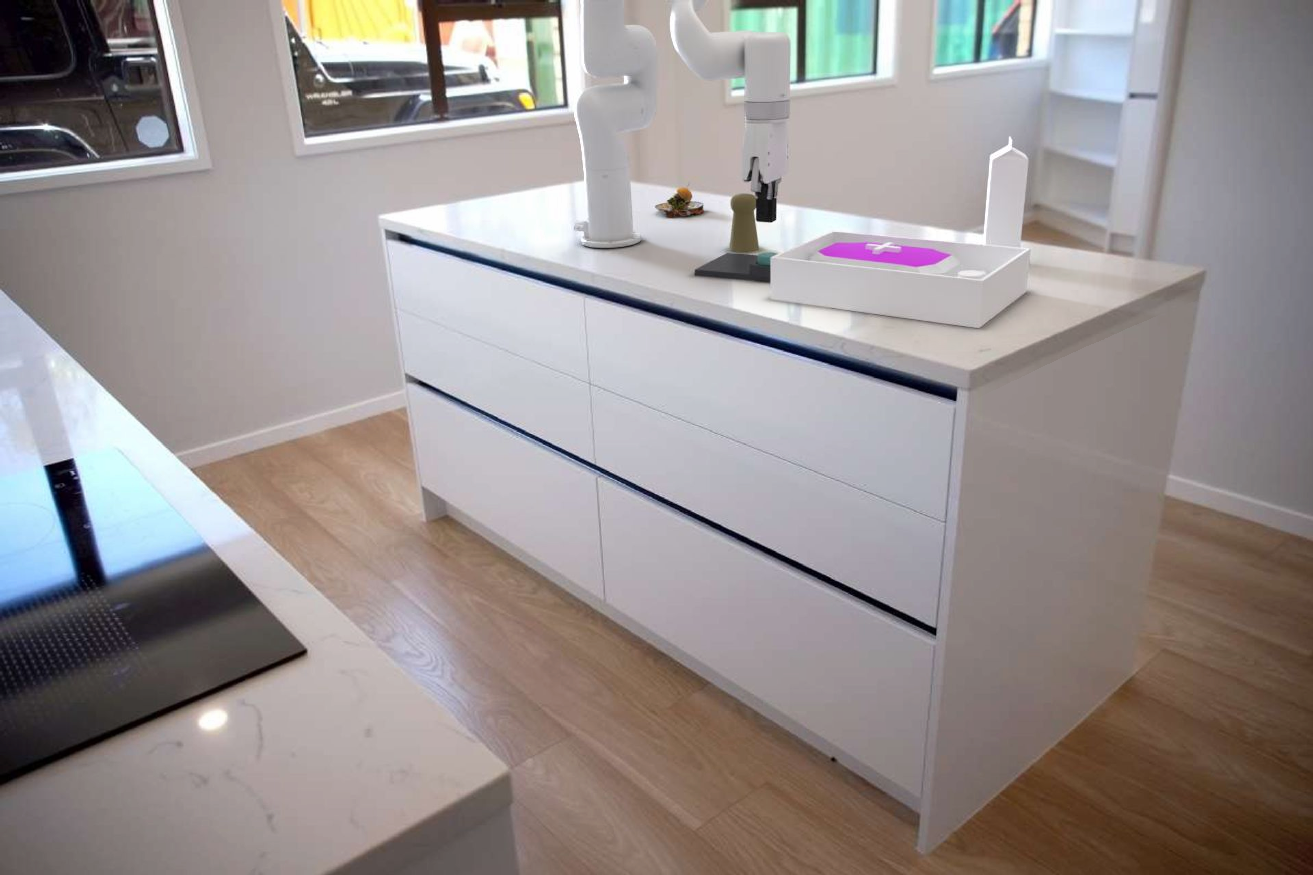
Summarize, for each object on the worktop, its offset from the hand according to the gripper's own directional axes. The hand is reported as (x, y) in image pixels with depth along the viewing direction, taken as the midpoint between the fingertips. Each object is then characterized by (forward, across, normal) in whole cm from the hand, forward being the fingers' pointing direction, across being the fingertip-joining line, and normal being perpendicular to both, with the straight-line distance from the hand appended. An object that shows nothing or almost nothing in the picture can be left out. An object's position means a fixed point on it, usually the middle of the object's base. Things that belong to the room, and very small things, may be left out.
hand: (766, 221), depth 174 cm
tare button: (+8, 0, +1) cm, 8 cm away
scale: (+10, -4, -5) cm, 12 cm away
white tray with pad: (+10, +4, +25) cm, 27 cm away
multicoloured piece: (+11, -50, -44) cm, 67 cm away
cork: (+11, -19, -13) cm, 25 cm away
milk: (+10, -22, +36) cm, 44 cm away
